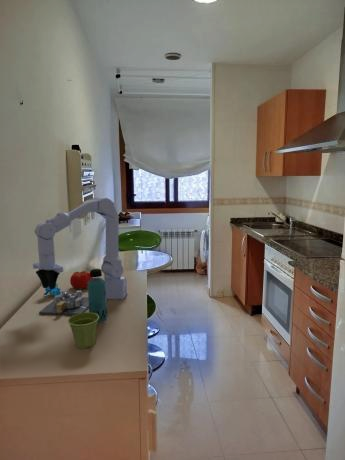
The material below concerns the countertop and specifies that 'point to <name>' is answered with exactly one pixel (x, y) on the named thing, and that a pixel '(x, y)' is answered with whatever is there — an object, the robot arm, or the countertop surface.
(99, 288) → the beverage bottle
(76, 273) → the tomato
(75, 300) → the grey block ring
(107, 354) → the countertop surface
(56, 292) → the gear
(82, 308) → the flange plate
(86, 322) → the plant pot
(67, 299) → the housing
